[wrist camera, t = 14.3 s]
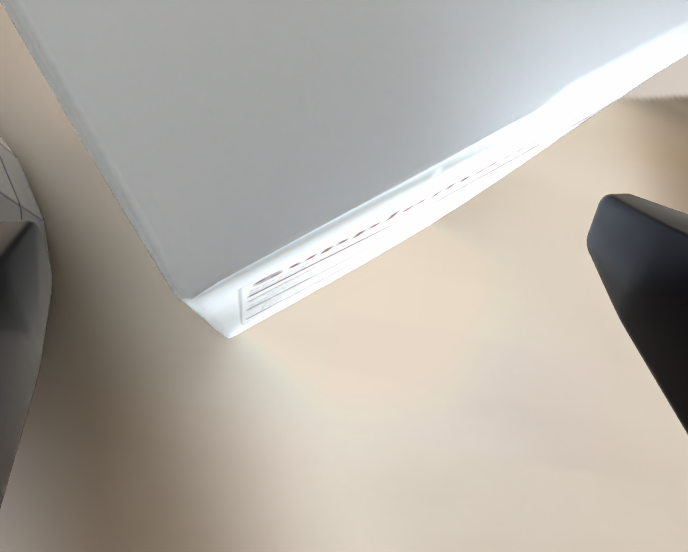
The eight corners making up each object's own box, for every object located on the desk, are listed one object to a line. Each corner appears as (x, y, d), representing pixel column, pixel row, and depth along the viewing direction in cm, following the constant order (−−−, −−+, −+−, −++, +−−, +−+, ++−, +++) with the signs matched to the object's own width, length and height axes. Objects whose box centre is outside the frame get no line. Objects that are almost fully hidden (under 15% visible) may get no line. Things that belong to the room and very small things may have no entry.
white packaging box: (102, 127, 17) (-256, -447, 5) (321, 30, 19) (463, -591, 6) (223, 348, 17) (161, 324, 5) (435, 231, 19) (811, -20, 6)
